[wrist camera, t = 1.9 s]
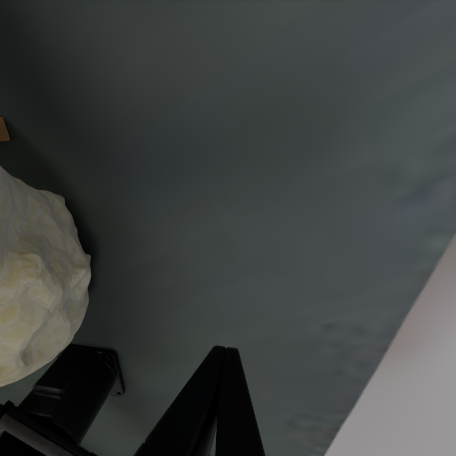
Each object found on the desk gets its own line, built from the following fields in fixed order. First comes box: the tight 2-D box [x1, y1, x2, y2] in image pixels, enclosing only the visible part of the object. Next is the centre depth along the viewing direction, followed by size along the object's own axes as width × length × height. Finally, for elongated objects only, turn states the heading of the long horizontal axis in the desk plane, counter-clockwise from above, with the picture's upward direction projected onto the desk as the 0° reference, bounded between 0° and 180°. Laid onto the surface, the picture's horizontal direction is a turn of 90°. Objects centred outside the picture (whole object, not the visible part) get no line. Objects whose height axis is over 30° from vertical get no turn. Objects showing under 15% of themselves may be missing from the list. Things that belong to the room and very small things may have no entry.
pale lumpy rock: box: [0, 166, 91, 387], centre depth 17 cm, size 15×7×15 cm
